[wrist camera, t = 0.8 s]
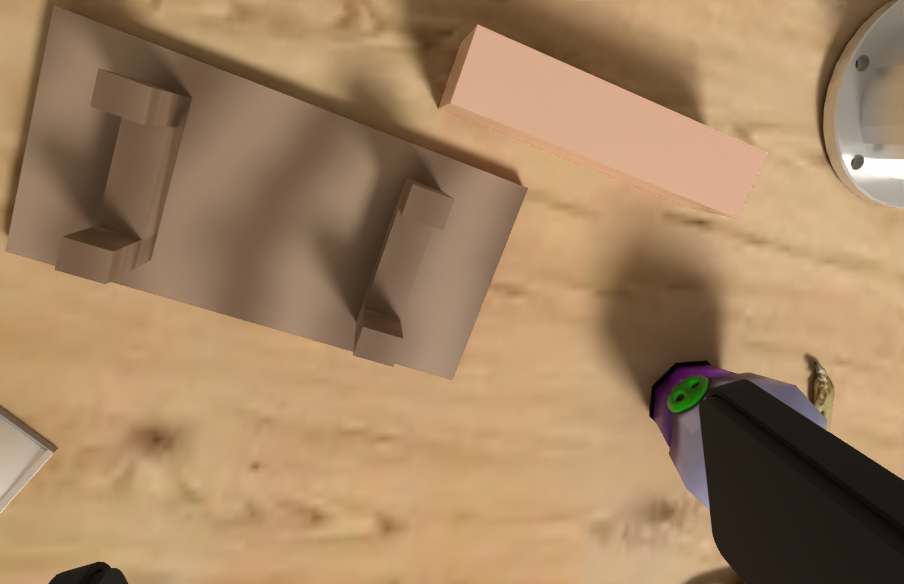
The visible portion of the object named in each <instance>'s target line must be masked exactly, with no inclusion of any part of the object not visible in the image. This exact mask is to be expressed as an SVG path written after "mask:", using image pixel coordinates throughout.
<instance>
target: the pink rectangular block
mask: <svg viewBox="0 0 904 584" xmlns="http://www.w3.org/2000/svg"><path fill="white" fill-rule="evenodd" d="M438 109H439V110H442V111H444V112H447V113H449V114H452V115H454V116H457V117H459V118H462V119H464V120H467V121H469V122H472V123H474V124H477V125H479V126H482V127H484V128H487V129H489V130H492V131H494V132H497V133H500V134H502V135H505V136H507V137H510V138H512V139H515V140H517V141H520V142H522V143H525V144H527V145H530V146H532V147H535V148H537V149H540V150H542V151H545V152H547V153H550V154H552V155H555V156H557V157H560V158H562V159H565V160H567V161H570V162H572V163H575V164H577V165H580V166H583V167H585V168H588V169H590V170H593V171H595V172H598V173H600V174H603V175H605V176H608V177H610V178H613V179H615V180H618V181H620V182H623V183H625V184H628V185H630V186H633V187H635V188H638V189H640V190H643V191H645V192H648V193H650V194H653V195H655V196H658V197H660V198H663V199H665V200H668V201H671V202H673V203H676V204H678V205H681V206H683V207H686V208H690V209H694V210H699V211H704V212H709V213H713V214H718V215H723V216H727V217H732V218H738V216H739V214H740V212H741V210H742V208H743V206H744V204H745V201H746V199H747V197H748V195H749V193H750V191H751V189H752V187H753V185H754V183H755V180H756V178H757V176H758V174H759V172H760V170H761V168H762V166H763V164H764V162H765V160H766V157H767V155H768V153H767V152H765V151H763V150H760V149H758V148H756V147H754V146H751V145H749V144H747V143H745V142H742V141H740V140H738V139H735V138H733V137H731V136H729V135H726V134H724V133H722V132H720V131H717V130H715V129H713V128H711V127H708V126H706V125H704V124H702V123H699V122H697V121H695V120H693V119H690V118H688V117H686V116H683V115H681V114H679V113H677V112H674V111H672V110H670V109H668V108H665V107H663V106H661V105H659V104H656V103H654V102H652V101H650V100H647V99H645V98H643V97H641V96H638V95H636V94H634V93H631V92H629V91H627V90H625V89H622V88H620V87H618V86H616V85H613V84H611V83H609V82H607V81H604V80H602V79H600V78H598V77H595V76H593V75H591V74H589V73H586V72H584V71H582V70H580V69H577V68H575V67H573V66H570V65H568V64H566V63H564V62H561V61H559V60H557V59H555V58H552V57H550V56H548V55H546V54H543V53H541V52H539V51H537V50H534V49H532V48H530V47H528V46H525V45H523V44H521V43H518V42H516V41H514V40H512V39H509V38H507V37H505V36H503V35H500V34H498V33H496V32H494V31H491V30H489V29H487V28H485V27H482V26H480V25H477V26H476V27H475V28H474V29H473V30H472V31H471V32H470V33H469V34H468V36H467V37H466V38H465V39H464V40H463V41H462V42H461V43H460V46H459V49H458V52H457V55H456V58H455V61H454V64H453V67H452V70H451V73H450V76H449V78H448V81H447V84H446V87H445V90H444V93H443V96H442V99H441V102H440V105H439V108H438Z"/></svg>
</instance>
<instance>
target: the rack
mask: <svg viewBox="0 0 904 584" xmlns="http://www.w3.org/2000/svg"><path fill="white" fill-rule="evenodd" d="M527 189H528V188H526V187H524V186H521V185H519V184H516V183H514V182H511V181H508V180H506V179H503V178H501V177H498V176H495V175H493V174H490V173H488V172H485V171H482V170H480V169H477V168H475V167H472V166H470V165H467V164H464V163H462V162H459V161H457V160H454V159H451V158H449V157H446V156H444V155H441V154H438V153H436V152H433V151H431V150H428V149H426V148H423V147H420V146H418V145H415V144H413V143H410V142H407V141H405V140H402V139H400V138H397V137H394V136H392V135H389V134H387V133H384V132H382V131H379V130H376V129H374V128H371V127H369V126H366V125H363V124H361V123H358V122H356V121H353V120H350V119H348V118H345V117H343V116H340V115H338V114H335V113H332V112H330V111H327V110H325V109H322V108H319V107H317V106H314V105H312V104H309V103H306V102H304V101H301V100H299V99H296V98H294V97H291V96H288V95H286V94H283V93H281V92H278V91H275V90H273V89H270V88H268V87H265V86H262V85H260V84H257V83H255V82H252V81H250V80H247V79H244V78H242V77H239V76H237V75H234V74H231V73H229V72H226V71H224V70H221V69H218V68H216V67H213V66H211V65H208V64H205V63H203V62H200V61H198V60H195V59H193V58H190V57H187V56H185V55H182V54H180V53H177V52H174V51H172V50H169V49H167V48H164V47H161V46H159V45H156V44H154V43H151V42H149V41H146V40H143V39H141V38H138V37H136V36H133V35H130V34H128V33H125V32H123V31H120V30H117V29H115V28H112V27H110V26H107V25H105V24H102V23H99V22H97V21H94V20H92V19H89V18H86V17H84V16H81V15H79V14H76V13H73V12H71V11H68V10H66V9H63V8H61V7H58V6H55V5H53V10H52V15H51V20H50V25H49V30H48V35H47V41H46V46H45V51H44V56H43V61H42V66H41V71H40V77H39V82H38V87H37V92H36V97H35V102H34V107H33V112H32V118H31V123H30V128H29V133H28V138H27V143H26V148H25V154H24V159H23V164H22V169H21V174H20V179H19V184H18V189H17V195H16V200H15V205H14V210H13V215H12V220H11V225H10V231H9V236H8V241H7V246H6V252H9V253H13V254H16V255H20V256H23V257H27V258H30V259H34V260H37V261H41V262H44V263H48V264H51V265H54V266H55V270H58V271H61V272H65V273H68V274H72V275H75V276H79V277H82V278H85V279H89V280H92V281H96V282H99V283H103V284H107V283H109V282H113V283H117V284H120V285H124V286H127V287H131V288H134V289H138V290H141V291H145V292H148V293H152V294H155V295H159V296H162V297H165V298H169V299H172V300H176V301H179V302H183V303H186V304H190V305H193V306H197V307H200V308H204V309H207V310H211V311H214V312H217V313H221V314H224V315H228V316H231V317H235V318H238V319H242V320H245V321H249V322H252V323H256V324H259V325H263V326H266V327H270V328H273V329H276V330H280V331H283V332H287V333H290V334H294V335H297V336H301V337H304V338H308V339H311V340H315V341H318V342H322V343H325V344H328V345H332V346H335V347H339V348H342V349H346V350H349V351H353V355H354V356H357V357H361V358H364V359H368V360H371V361H375V362H378V363H382V364H385V365H389V366H392V367H393V366H394V364H398V365H401V366H405V367H408V368H412V369H415V370H419V371H422V372H426V373H429V374H433V375H436V376H439V377H443V378H446V379H450V380H453V377H454V375H455V372H456V369H457V367H458V364H459V362H460V359H461V357H462V354H463V352H464V349H465V347H466V344H467V342H468V339H469V336H470V334H471V331H472V329H473V326H474V324H475V321H476V319H477V316H478V314H479V311H480V309H481V306H482V304H483V301H484V298H485V296H486V293H487V291H488V288H489V286H490V283H491V281H492V278H493V276H494V273H495V271H496V268H497V265H498V263H499V260H500V258H501V255H502V253H503V250H504V248H505V245H506V243H507V240H508V238H509V235H510V233H511V230H512V227H513V225H514V222H515V220H516V217H517V215H518V212H519V210H520V207H521V205H522V202H523V200H524V197H525V194H526V192H527Z"/></svg>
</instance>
